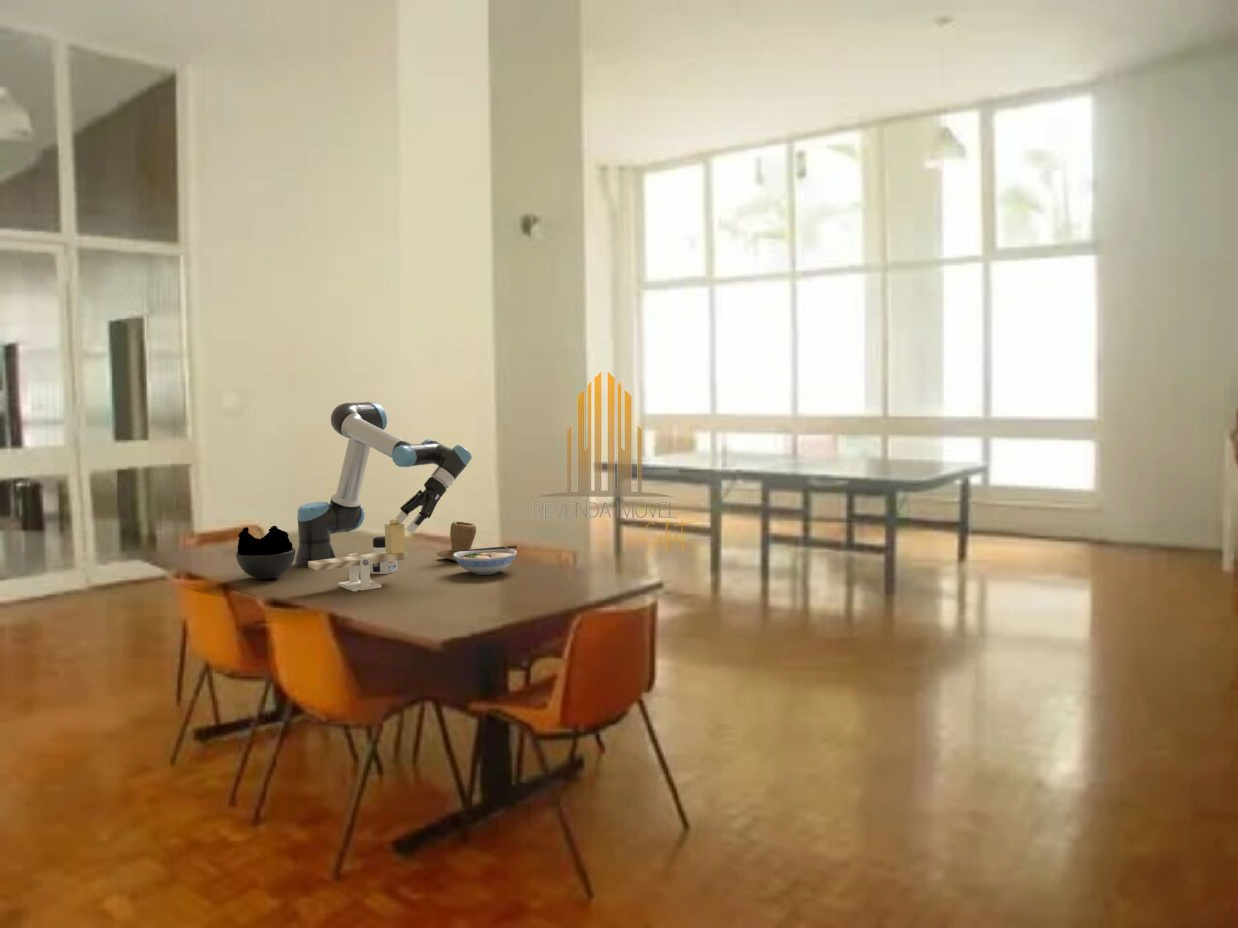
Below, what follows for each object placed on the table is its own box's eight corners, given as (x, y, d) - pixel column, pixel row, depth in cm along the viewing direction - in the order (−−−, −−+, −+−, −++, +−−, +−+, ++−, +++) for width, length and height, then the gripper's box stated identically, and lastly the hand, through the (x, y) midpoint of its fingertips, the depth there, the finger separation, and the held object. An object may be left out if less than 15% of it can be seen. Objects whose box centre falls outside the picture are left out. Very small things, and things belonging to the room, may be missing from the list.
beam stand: (353, 591, 330) (351, 560, 329) (338, 585, 340) (337, 555, 339) (381, 587, 336) (380, 556, 335) (366, 581, 346) (365, 551, 345)
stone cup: (482, 560, 385) (481, 521, 384) (455, 564, 377) (454, 525, 376) (462, 555, 396) (461, 518, 395) (436, 559, 389) (434, 521, 388)
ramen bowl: (454, 581, 343) (453, 558, 343) (447, 570, 365) (446, 548, 365) (526, 576, 350) (525, 553, 349) (515, 565, 372) (514, 543, 371)
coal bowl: (308, 575, 360) (306, 523, 359) (268, 586, 342) (265, 531, 340) (266, 572, 368) (263, 521, 367) (224, 582, 350) (221, 529, 349)
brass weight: (385, 552, 346) (384, 519, 345) (399, 551, 349) (398, 518, 348) (391, 554, 342) (390, 521, 341) (405, 552, 345) (404, 519, 344)
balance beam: (316, 570, 325) (316, 564, 325) (308, 567, 331) (307, 561, 331) (407, 559, 344) (407, 553, 343) (398, 556, 350) (398, 550, 350)
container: (388, 574, 360) (387, 538, 358) (368, 573, 361) (367, 538, 360) (397, 570, 367) (396, 535, 366) (378, 569, 369) (376, 535, 368)
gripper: (462, 492, 345) (423, 540, 337) (430, 487, 365) (393, 532, 357) (447, 478, 341) (408, 526, 333) (416, 474, 361) (379, 519, 354)
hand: (400, 529), depth 345 cm, fingers open, 13 cm apart
